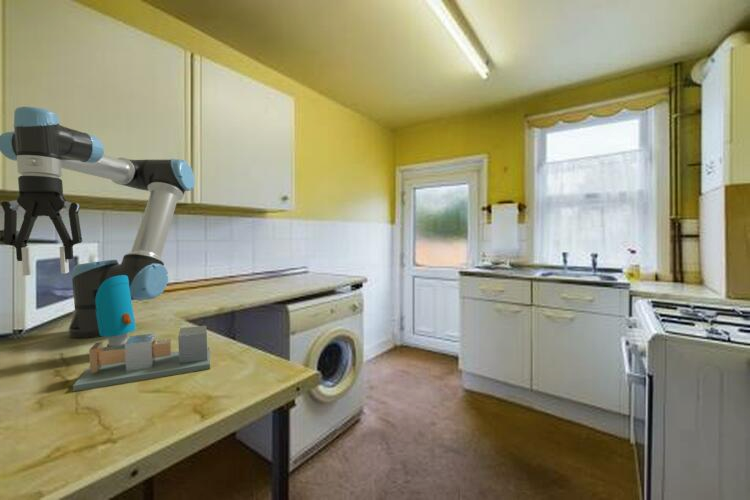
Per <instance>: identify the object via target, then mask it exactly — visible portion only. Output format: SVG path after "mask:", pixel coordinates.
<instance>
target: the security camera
mask: <svg viewBox="0 0 750 500" xmlns="http://www.w3.org/2000/svg"><path fill="white" fill-rule="evenodd" d="M93 297H94V303H95V311H96V317H97V323H98V329H99V334H100V336H99V337H104V338H108V339H107V341H108V343H107V345H106V347H111V346H119V345H125V343H126V342H127V341H128V334H129V333H131V332H134V331H136V330H137V327H136V322H135V315H134V310H133V303H132V302H133V300H131V295H130V287H129V280H128V276H127V275H119V276H114V277H110V278H108V279H106V280H105V281H104V282H103V283H102V284H101V285H100V287H99V289H94V290H93Z"/></svg>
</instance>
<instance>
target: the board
mask: <svg viewBox="0 0 750 500" xmlns="http://www.w3.org/2000/svg"><path fill="white" fill-rule="evenodd" d="M210 355H211V353H210V347H208V346H207V361H200V362H194V363H188V364H181V365H179V351H174V352H171V355H170V356H165V357H158V358H156V360H155V363H154V365H153V368H151V369H144V370H138V371H131V372H126V362H123V363H116V364H110V365H103V366H102V367H101V368H100V369H99V371H98V372H95V373H91V372H90V365H89V366H88V368H87V369H86V370H85V371H84V372H83V373H82V375H81V376H79V378H78V379H77V381H75V383H73V385H72V391H73V392H78V391H84V390H90V389H97V388H103V387H107V386H108V387H109V386H113V385H121V384H126V383H127V384H128V383H133V382H139V381H144V380H150V379H156V378H163V377H169V376H174V375H181V374H186V373H192V372H198V371H203V370H204V371H205V370H210V369H211V357H210Z"/></svg>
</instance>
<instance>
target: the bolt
mask: <svg viewBox="0 0 750 500" xmlns="http://www.w3.org/2000/svg"><path fill="white" fill-rule="evenodd" d="M88 350H89V351H88V352H89V366H90V372H91V373H95V372H98V371H99V369H100V368H101V367H102V366H103V365H110V364H116V363H123V362H126V359H125V345H119V346H111V347H107V346H104V345H103V342H102V341H101V342H95V343H94V344H93V346H92V347H91V348H90V349H88ZM171 353H172V339H171V338H168V339H167V338H165V339H159V340H155V341H153V343H152V354H153V358H158V357H165V356H170V355H171Z"/></svg>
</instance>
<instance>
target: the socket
mask: <svg viewBox="0 0 750 500" xmlns="http://www.w3.org/2000/svg"><path fill="white" fill-rule="evenodd" d="M207 330H208V329H207V325H199V326H198V325H197V326H190V327H182V328H179V333H178V336H177V339H178V342H177V343H178V352H179V365H181V364H188V363H194V362H200V361H207V348H208V335H207V334H208V333H207Z"/></svg>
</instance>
